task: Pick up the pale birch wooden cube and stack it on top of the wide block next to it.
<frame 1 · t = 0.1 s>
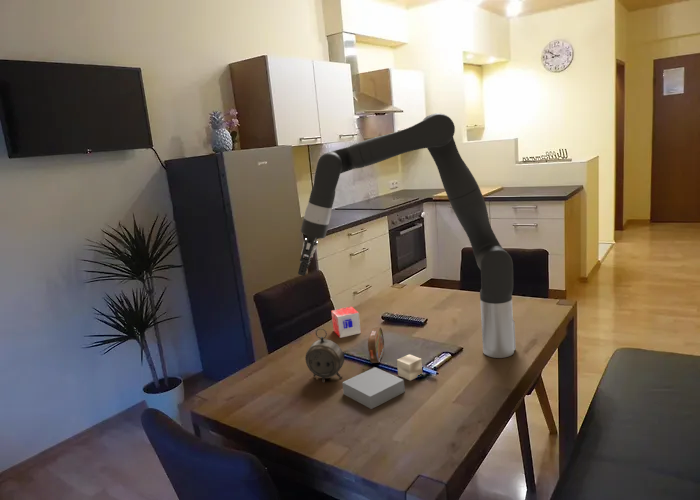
hand: (303, 271, 157), 31 cm above the table, tool tilted 20°, fingers open, 8 cm apart
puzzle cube: (347, 332, 190), on the table
alarm clock: (326, 380, 155), on the table
birch cube: (410, 375, 152), on the table
tin: (377, 357, 167), on the table
base block: (374, 394, 144), on the table
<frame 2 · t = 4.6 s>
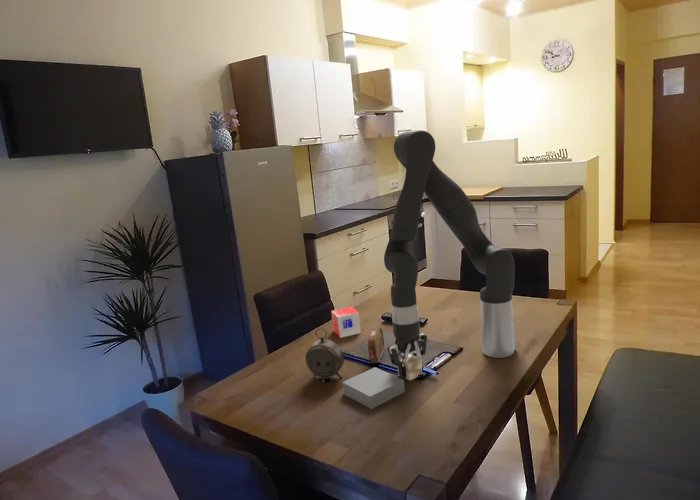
hand: (410, 373, 152), 0 cm above the table, tool pointing down, fingers closed on birch cube, 5 cm apart
birch cube: (410, 374, 152), on the table, touching gripper
everything else where it was.
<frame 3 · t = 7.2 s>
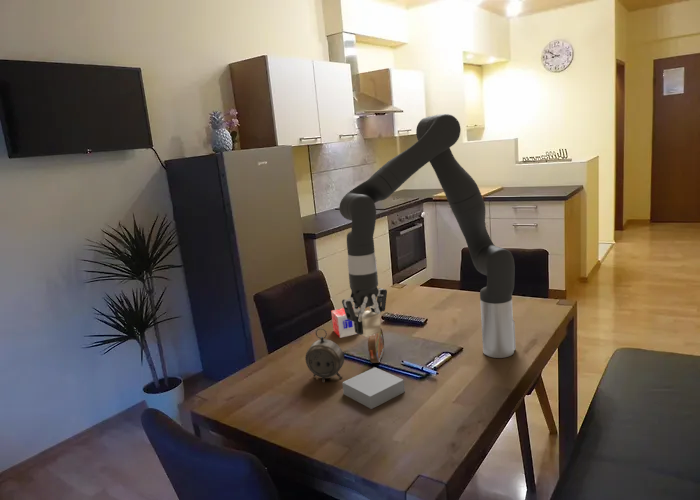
hand: (367, 330, 141), 18 cm above the table, tool pointing down, fingers closed on birch cube, 5 cm apart
birch cube: (367, 332, 141), point 18 cm above the table, touching gripper
everything else where it was.
when the fingers open (6 cm above the table, at t = 9.7 s): birch cube drops 2 cm, resting on base block.
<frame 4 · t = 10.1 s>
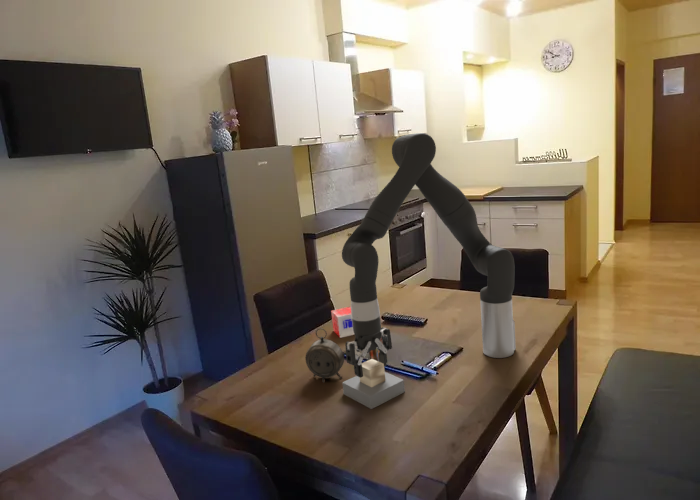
hand: (371, 370, 143), 7 cm above the table, tool pointing down, fingers open, 8 cm apart
birch cube: (372, 381, 143), point 4 cm above the table, touching base block
base block: (374, 394, 144), on the table, touching birch cube
everything else where it was.
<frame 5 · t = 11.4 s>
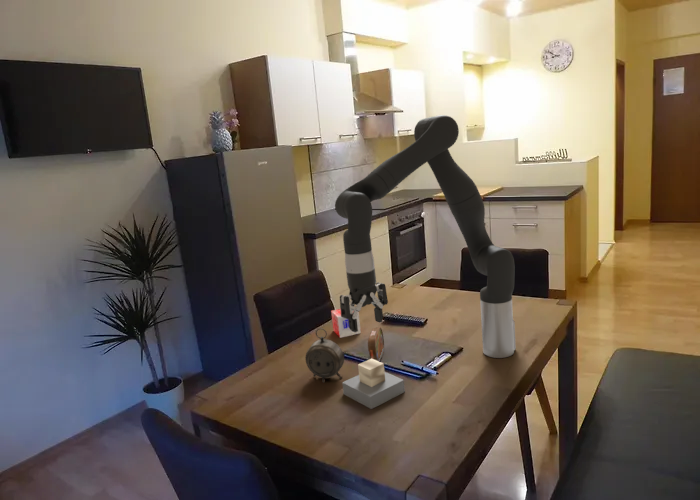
hand: (367, 326, 140), 20 cm above the table, tool pointing down, fingers open, 8 cm apart
nothing on the table moved.
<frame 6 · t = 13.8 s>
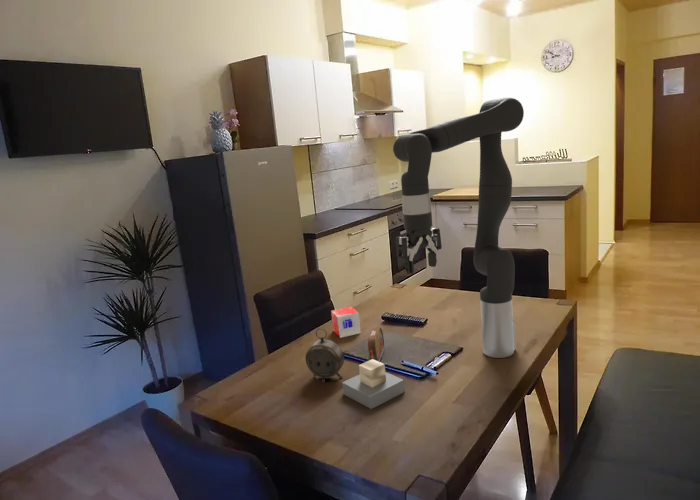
hand: (421, 269, 142), 32 cm above the table, tool pointing down, fingers open, 8 cm apart
nothing on the table moved.
at the end: birch cube inside the target area on the base block (0.2 cm from its centre), point 4.0 cm above the base block's base; birch cube tilted 1°; birch cube touching base block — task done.
